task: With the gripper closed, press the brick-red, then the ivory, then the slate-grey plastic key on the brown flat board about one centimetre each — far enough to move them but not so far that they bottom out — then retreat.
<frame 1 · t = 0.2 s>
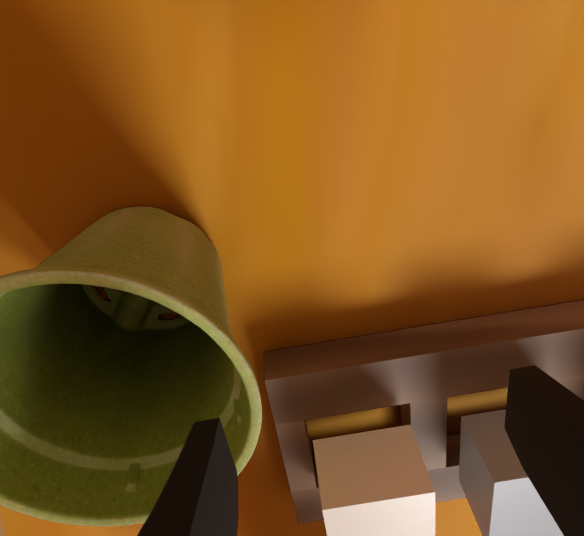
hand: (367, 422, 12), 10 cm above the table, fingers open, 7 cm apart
plant pot: (150, 266, 21), on the table
brown flat board: (480, 397, 26), on the table
slate key: (524, 472, 22), point 5 cm above the table, slide at 0.0 cm
ivory key: (372, 497, 22), point 5 cm above the table, slide at 0.0 cm
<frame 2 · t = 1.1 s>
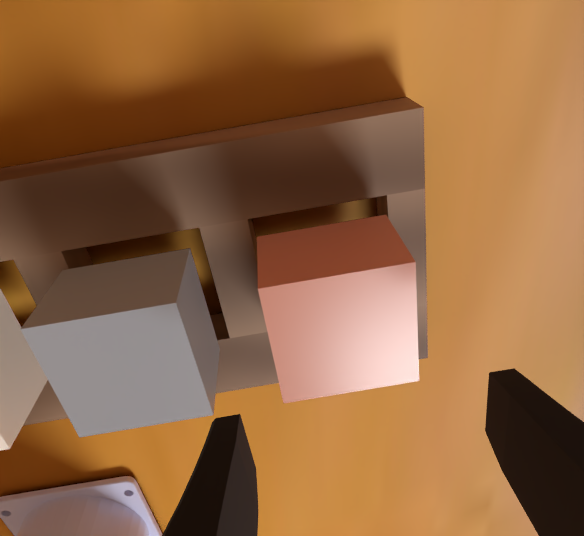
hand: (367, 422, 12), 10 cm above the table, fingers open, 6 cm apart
brown flat board: (159, 272, 21), on the table
brick key: (335, 306, 16), point 5 cm above the table, slide at 0.0 cm
slate key: (136, 340, 16), point 5 cm above the table, slide at 0.0 cm
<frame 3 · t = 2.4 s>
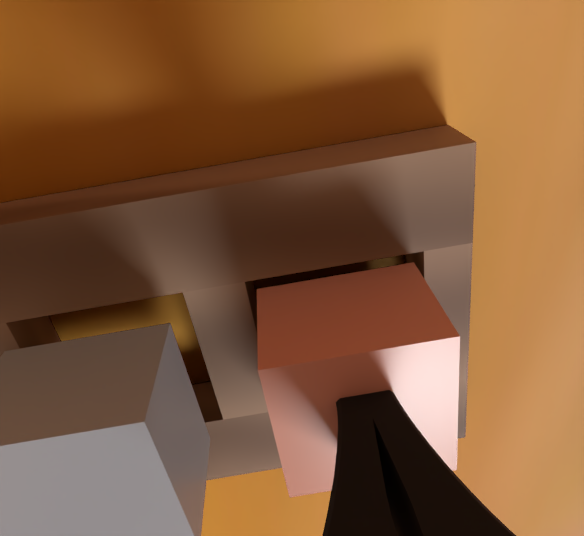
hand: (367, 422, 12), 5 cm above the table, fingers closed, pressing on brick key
brown flat board: (137, 336, 17), on the table
brick key: (353, 376, 13), point 4 cm above the table, slide at 1.0 cm, touching gripper
slate key: (98, 446, 13), point 5 cm above the table, slide at 0.0 cm
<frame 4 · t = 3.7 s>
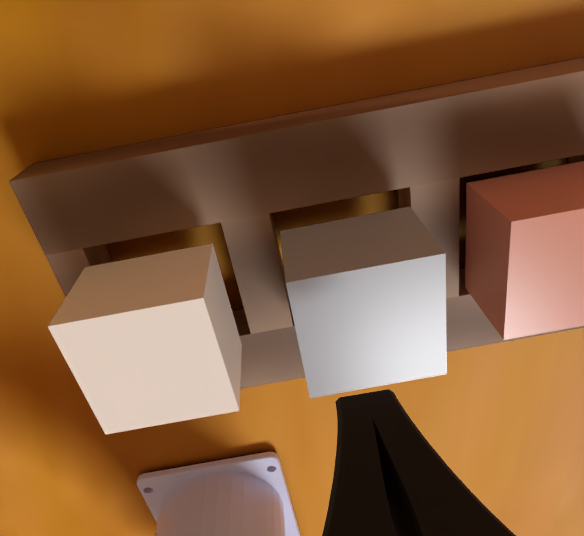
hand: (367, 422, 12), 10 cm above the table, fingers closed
brown flat board: (339, 239, 20), on the table
brick key: (548, 248, 17), point 4 cm above the table, slide at 1.1 cm
slate key: (361, 300, 16), point 5 cm above the table, slide at 0.0 cm
ivory key: (160, 337, 16), point 5 cm above the table, slide at 0.0 cm
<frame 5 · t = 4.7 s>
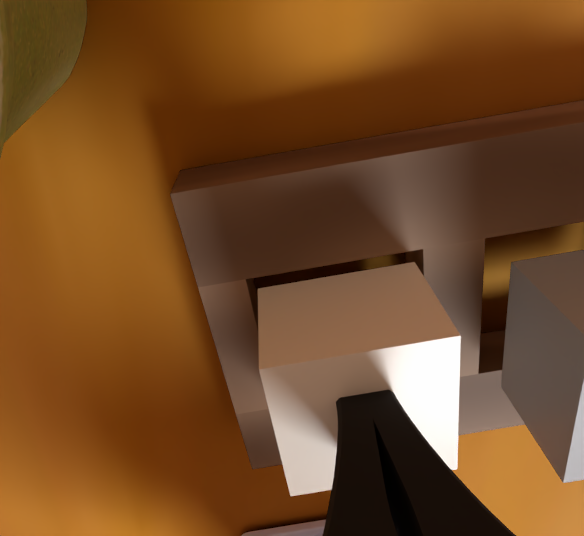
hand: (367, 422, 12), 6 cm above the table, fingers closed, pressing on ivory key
brown flat board: (531, 267, 17), on the table
ivory key: (354, 375, 13), point 4 cm above the table, slide at 0.9 cm, touching gripper
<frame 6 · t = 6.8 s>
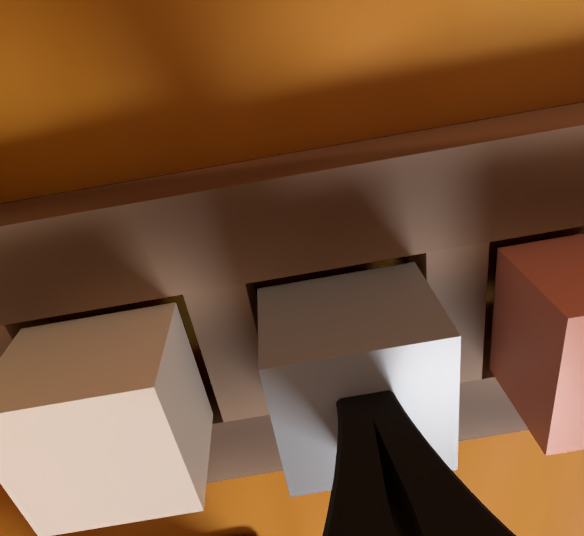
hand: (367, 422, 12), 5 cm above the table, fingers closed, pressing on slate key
brown flat board: (334, 304, 16), on the table
slate key: (354, 376, 13), point 4 cm above the table, slide at 1.1 cm, touching gripper
ivory key: (109, 416, 13), point 4 cm above the table, slide at 1.1 cm
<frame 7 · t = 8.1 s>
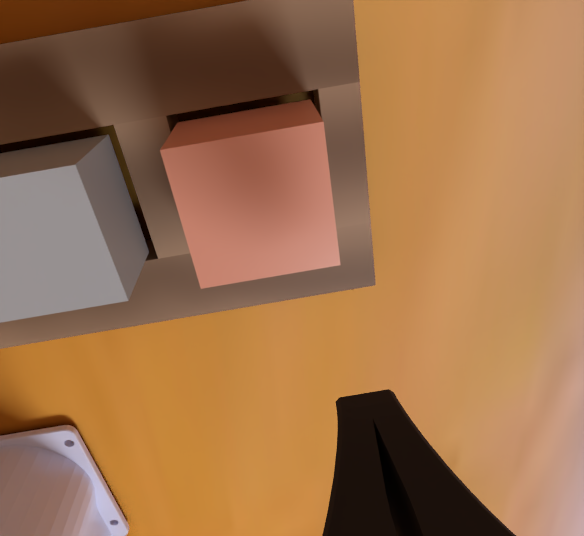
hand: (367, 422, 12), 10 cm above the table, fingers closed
brown flat board: (84, 190, 19), on the table
brick key: (256, 191, 16), point 4 cm above the table, slide at 1.1 cm
slate key: (50, 227, 16), point 4 cm above the table, slide at 1.1 cm
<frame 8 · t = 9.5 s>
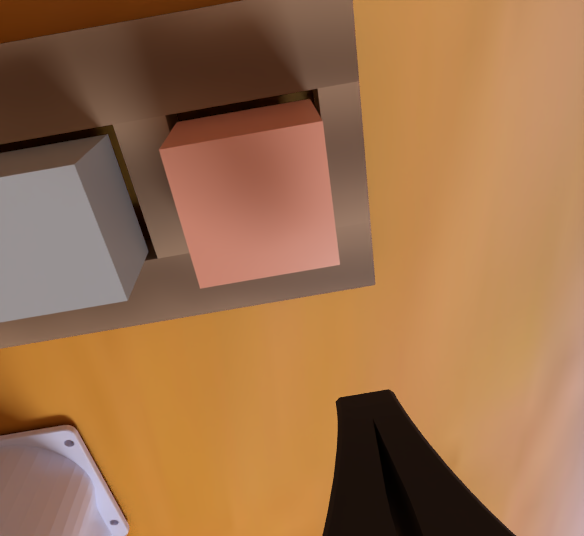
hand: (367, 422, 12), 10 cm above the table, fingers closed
brown flat board: (83, 189, 19), on the table
brick key: (256, 191, 16), point 4 cm above the table, slide at 1.1 cm
slate key: (50, 227, 16), point 4 cm above the table, slide at 1.1 cm
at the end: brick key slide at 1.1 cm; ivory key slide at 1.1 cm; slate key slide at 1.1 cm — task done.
